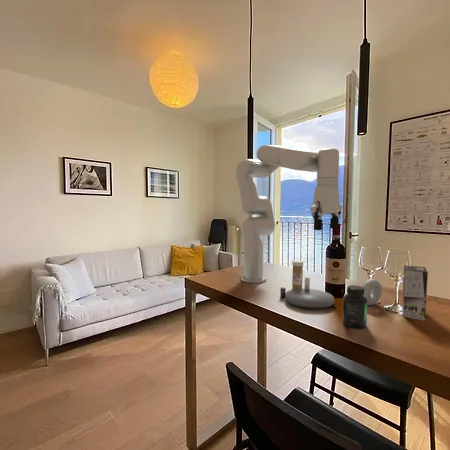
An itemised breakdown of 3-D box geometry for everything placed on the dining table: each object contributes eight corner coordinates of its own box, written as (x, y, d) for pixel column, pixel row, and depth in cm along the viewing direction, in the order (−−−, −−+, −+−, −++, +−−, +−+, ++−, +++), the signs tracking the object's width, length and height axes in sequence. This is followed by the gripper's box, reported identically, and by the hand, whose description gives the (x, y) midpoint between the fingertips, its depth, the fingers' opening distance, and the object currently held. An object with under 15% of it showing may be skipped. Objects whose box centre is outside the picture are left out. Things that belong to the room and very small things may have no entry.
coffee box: (425, 321, 89) (428, 272, 88) (402, 317, 93) (404, 269, 91) (423, 311, 97) (425, 266, 96) (401, 308, 100) (403, 264, 99)
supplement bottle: (371, 328, 84) (373, 290, 83) (351, 330, 83) (352, 291, 82) (357, 319, 91) (358, 283, 90) (338, 320, 90) (339, 284, 89)
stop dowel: (279, 297, 112) (279, 288, 112) (282, 296, 114) (282, 287, 113) (282, 299, 111) (283, 289, 110) (286, 298, 112) (286, 288, 112)
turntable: (338, 309, 96) (339, 291, 96) (285, 306, 100) (286, 288, 99) (328, 291, 116) (328, 276, 115) (284, 289, 119) (284, 274, 119)
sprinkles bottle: (290, 291, 120) (290, 261, 119) (294, 288, 124) (295, 259, 123) (299, 293, 117) (300, 262, 116) (304, 290, 121) (304, 260, 120)
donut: (366, 308, 100) (367, 281, 99) (358, 305, 103) (358, 279, 102) (383, 304, 105) (384, 278, 104) (375, 301, 108) (376, 276, 107)
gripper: (332, 184, 110) (331, 227, 111) (303, 183, 100) (302, 229, 101) (350, 183, 103) (349, 228, 105) (321, 181, 94) (319, 231, 95)
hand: (326, 229), depth 103 cm, fingers open, 9 cm apart
